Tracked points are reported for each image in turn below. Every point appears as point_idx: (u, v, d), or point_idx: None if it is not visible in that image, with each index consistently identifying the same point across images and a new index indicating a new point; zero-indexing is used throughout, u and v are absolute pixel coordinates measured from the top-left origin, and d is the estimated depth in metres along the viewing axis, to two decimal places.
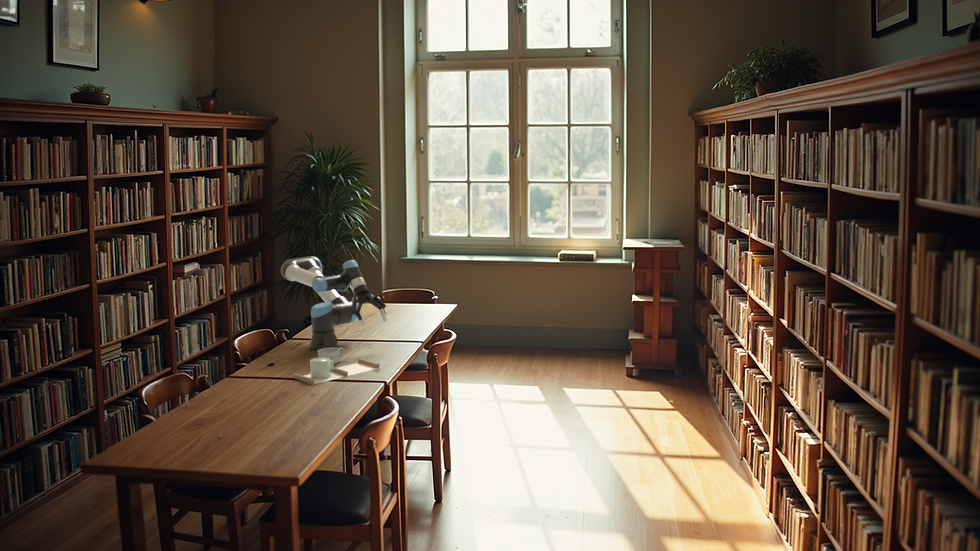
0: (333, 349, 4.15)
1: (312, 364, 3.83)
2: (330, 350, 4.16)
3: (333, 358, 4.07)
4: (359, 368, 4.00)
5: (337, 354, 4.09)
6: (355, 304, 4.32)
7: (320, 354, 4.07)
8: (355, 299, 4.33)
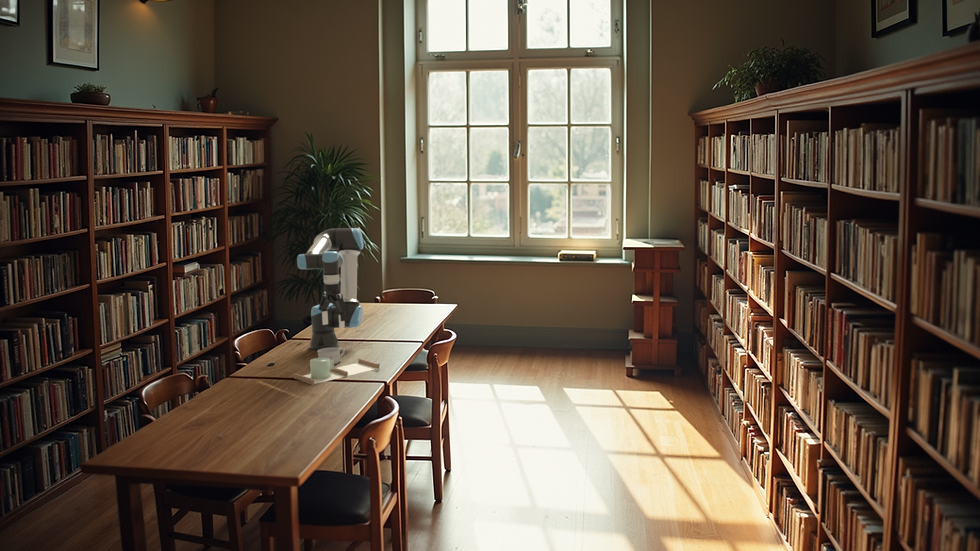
0: (333, 349, 4.15)
1: (312, 364, 3.83)
2: (330, 350, 4.16)
3: (333, 358, 4.07)
4: (359, 368, 4.00)
5: (337, 354, 4.09)
6: (321, 301, 4.13)
7: (320, 354, 4.07)
8: (322, 296, 4.12)
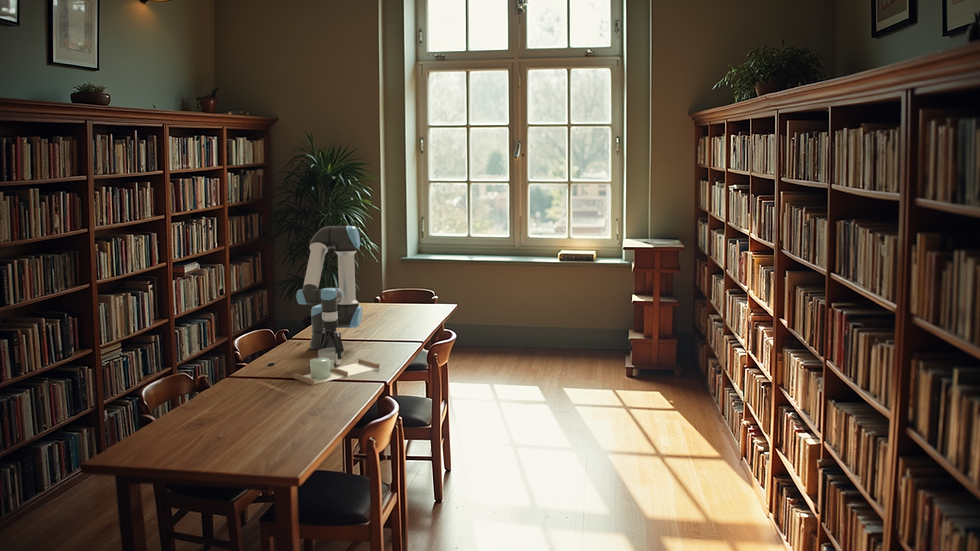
0: (333, 349, 4.15)
1: (312, 364, 3.83)
2: (330, 350, 4.15)
3: (333, 358, 4.07)
4: (359, 368, 4.00)
5: None
6: (320, 338, 4.15)
7: (320, 354, 4.06)
8: (321, 333, 4.14)
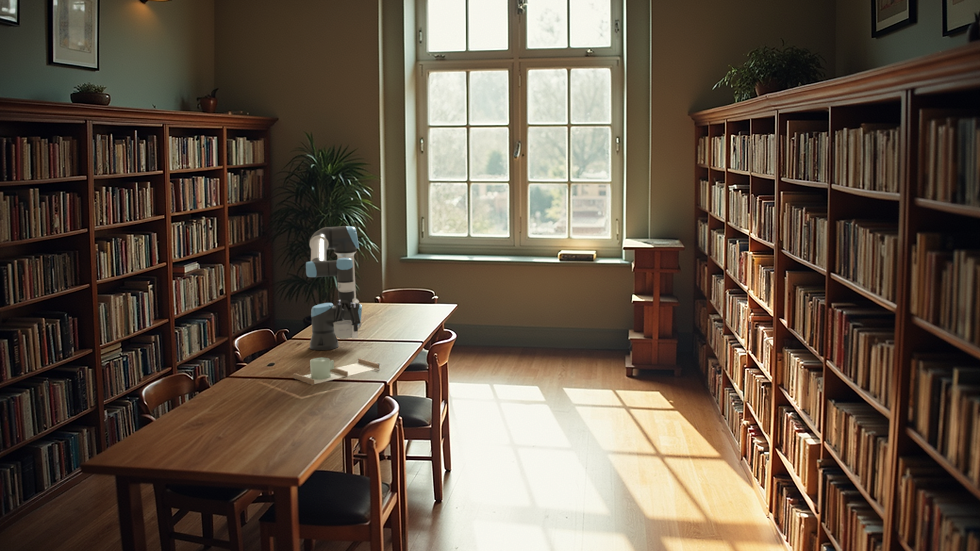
0: (349, 322, 4.01)
1: (312, 364, 3.83)
2: (346, 323, 4.01)
3: (350, 330, 3.92)
4: (359, 368, 4.00)
5: None
6: (336, 310, 4.01)
7: (336, 326, 3.92)
8: (337, 305, 4.00)
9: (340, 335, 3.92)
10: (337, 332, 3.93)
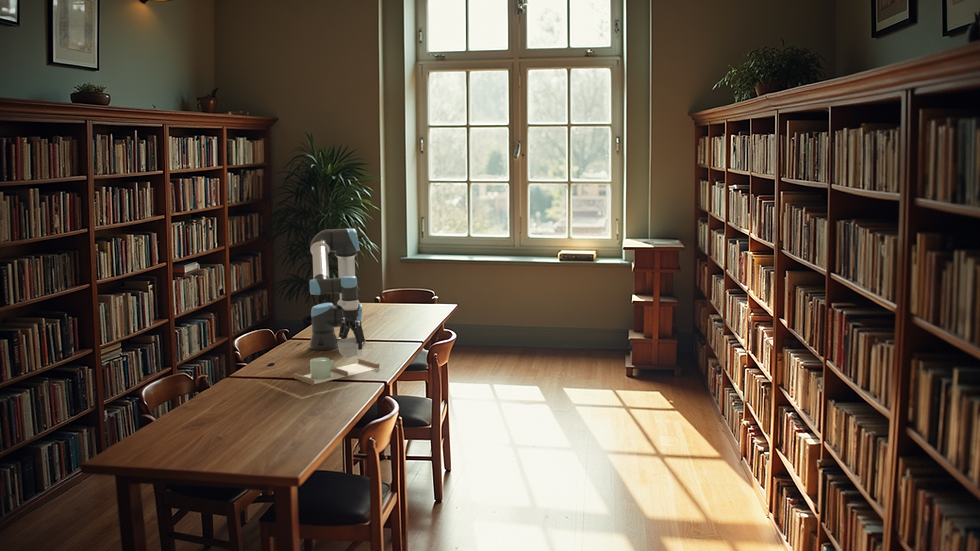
0: (353, 339, 4.01)
1: (312, 364, 3.83)
2: (350, 340, 4.01)
3: (354, 348, 3.92)
4: (359, 368, 4.00)
5: None
6: (340, 328, 4.01)
7: (341, 344, 3.92)
8: (341, 322, 4.00)
9: (344, 353, 3.92)
10: (341, 350, 3.92)
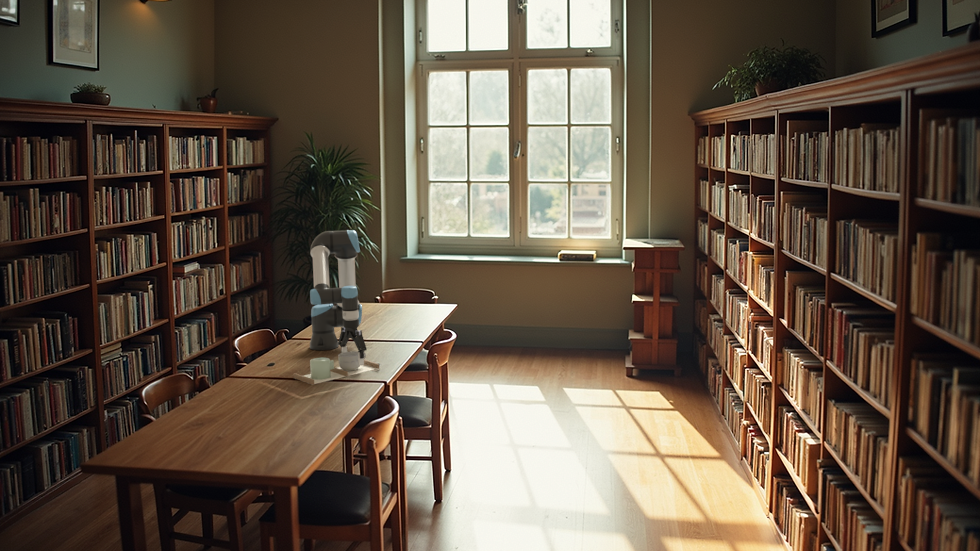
0: (354, 353, 4.02)
1: (312, 364, 3.83)
2: (351, 354, 4.03)
3: (354, 362, 3.94)
4: (359, 368, 4.00)
5: None
6: (340, 336, 4.02)
7: (341, 358, 3.94)
8: (341, 331, 4.01)
9: (345, 367, 3.94)
10: (342, 364, 3.94)
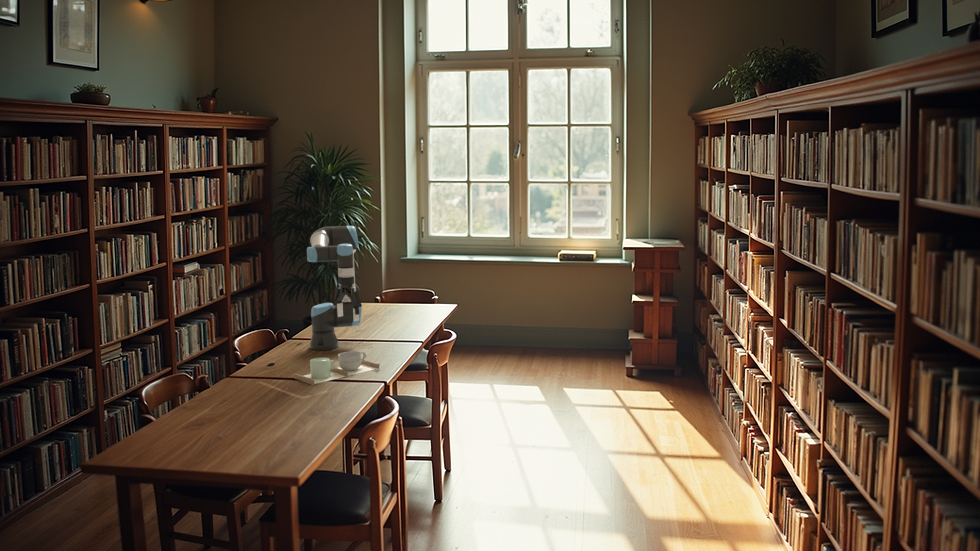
0: (354, 353, 4.02)
1: (312, 364, 3.83)
2: (351, 354, 4.03)
3: (354, 362, 3.94)
4: (359, 368, 4.00)
5: (358, 358, 3.96)
6: (336, 293, 4.12)
7: (341, 358, 3.94)
8: (337, 288, 4.10)
9: (345, 367, 3.94)
10: (342, 364, 3.94)
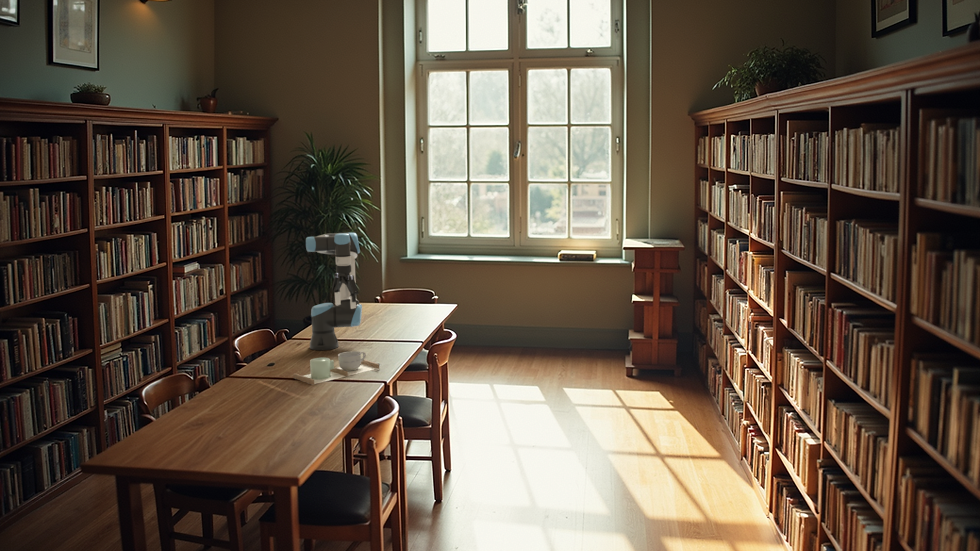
0: (354, 353, 4.02)
1: (312, 364, 3.83)
2: (351, 354, 4.03)
3: (354, 362, 3.94)
4: (359, 368, 4.00)
5: (358, 358, 3.96)
6: (333, 282, 4.22)
7: (341, 358, 3.94)
8: (334, 277, 4.21)
9: (345, 367, 3.94)
10: (342, 364, 3.94)
